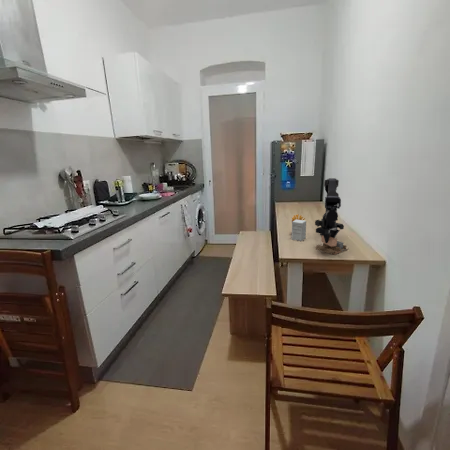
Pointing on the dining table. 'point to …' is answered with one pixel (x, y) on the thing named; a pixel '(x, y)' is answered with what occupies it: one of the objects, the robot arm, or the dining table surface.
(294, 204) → the dining table surface
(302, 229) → the supplement box
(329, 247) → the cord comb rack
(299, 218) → the french fries
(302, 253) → the dining table surface
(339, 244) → the tall slate pillar
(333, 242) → the tall terracotta pillar
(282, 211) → the dining table surface
